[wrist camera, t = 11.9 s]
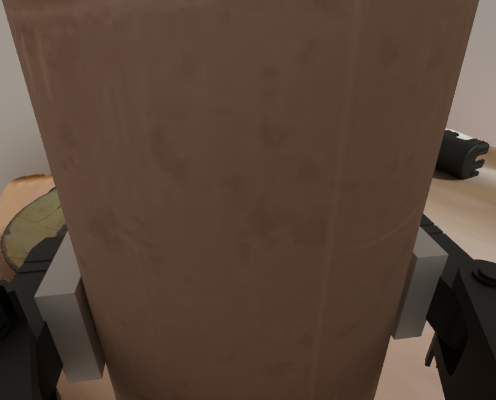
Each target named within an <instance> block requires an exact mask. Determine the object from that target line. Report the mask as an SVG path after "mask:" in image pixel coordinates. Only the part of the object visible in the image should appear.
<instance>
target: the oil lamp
mask: <svg viewBox="0 0 496 400" xmlns="http://www.w3.org/2000/svg"><path fill="white" fill-rule="evenodd" d="M67 231H68V229H67V225H66V222H65V218H64V215H63V211H62V208H61V204H60V201H59V197H58V194H57V190H56V187H54V188H52V189H51V190H50V191H49V192H48V193H47V194H45V195H43V196H41V197H39V198H37V199H36V200H34V201H33V202H31V203H30V204H29V205H27V206H26V207H24V208H23V209H22V210H21V211H20V212H19V213H17V214H16V215H15V217H14V218H13V219H12V220H11V221H10V223H9V224H8V226H7V227H6V229H5V231H4V234H3V236H2V239H1V249H2V252H3V254H4V257H5V260H6V261H7V263H8V265H9V266H10V267H11V268H12V269H13V271H15V272H16V273H17V271H18V270H19V268H20V266H21V265H22V264H24V260H25V258H26V257H27V255H28V254H29V252H30V250H31V249H32V248H33V247H34V246H36V245H37V244H38V243H39V242H41V241H42V240H43V239H44V238H46V237H57V236H65V235H66V233H67Z"/></svg>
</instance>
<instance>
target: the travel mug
mask: <svg viewBox="0 0 496 400" xmlns="http://www.w3.org/2000/svg"><path fill="white" fill-rule="evenodd" d="M2 1H3V4H4V8H5V12H6V15H7V18H8V22H9V26H10V29H11V33H12V36H13V40H14V43H15V47H16V50H17V54H18V57H19V61H20V64H21V68H22V71H23V75H24V78H25V82H26V85H27V89H28V92H29V96H30V99H31V102H32V106H33V110H34V113H35V117H36V120H37V124H38V127H39V131H40V134H41V138H42V141H43V145H44V148H45V151H46V155H47V159H48V162H49V166H50V169H51V173H52V176H53V180H54V183H55V187H56V190H57V194H58V197H59V201H60V204H61V208H62V211H63V215H64V218H65V222H66V225H67V229H68V232H69V236H70V239H71V243H72V246H73V250H74V253H75V257H76V260H77V264H78V267H79V271H80V274H81V278H82V281H83V285H84V288H85V292H86V295H87V299H88V302H89V306H90V309H91V313H92V316H93V320H94V323H95V327H96V330H97V334H98V337H99V341H100V344H101V347H102V351H103V354H104V358H105V361H106V365H107V368H108V372H109V375H110V379H111V382H112V386H113V389H114V393H115V396H116V400H374V397H375V393H376V390H377V386H378V382H379V378H380V375H381V371H382V367H383V363H384V359H385V356H386V352H387V348H388V344H389V340H390V337H391V333H392V329H393V325H394V321H395V318H396V314H397V310H398V306H399V302H400V299H401V295H402V291H403V287H404V283H405V280H406V276H407V272H408V268H409V264H410V261H411V257H412V253H413V249H414V245H415V242H416V238H417V234H418V230H419V226H420V223H421V219H422V215H423V211H424V208H425V204H426V200H427V196H428V192H429V189H430V185H431V181H432V177H433V173H434V170H435V166H436V162H437V158H438V154H439V151H440V147H441V143H442V139H443V135H444V132H445V128H446V124H447V120H448V116H449V113H450V108H451V105H452V101H453V97H454V94H455V90H456V86H457V82H458V78H459V75H460V71H461V67H462V63H463V59H464V56H465V52H466V48H467V44H468V40H469V36H470V33H471V29H472V25H473V21H474V18H475V14H476V10H477V6H478V2H479V0H2Z"/></svg>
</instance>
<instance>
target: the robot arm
mask: <svg viewBox="0 0 496 400" xmlns="http://www.w3.org/2000/svg"><path fill="white" fill-rule="evenodd" d="M426 320H427V321H428V322H429V324H430V325H431V326H432V328H433V329H434V331H435V333H434V336H433V339H432V342H431V344H430V347H429V350H428V353H427V355H426V358H425V366H429V367H430V364H431V362H432V359H433V357H434V356H435V360H436V364H437V365H436V368H438V372H439V376H440V380H441V384H442V388H443V392H444V396H445V400H496V263H493V262H489V261H485V260H473V259H472V258H471V257H470V256H469V255H468V254H467V253H466V252H465V251H463V250H462V249H461V248H460V247H459V246H458V245H457V244H456V243H455V242H454V241H452V240H451V239H450V238H449V237H448V236H447V235H446V234H443V231H442V230H440V229H439V228H438V227H437V226H434V223H433V222H432V221H431V220H430V219H428V218H427V217H426V216H425V215H424V214H423V215H422V219H421V223H420V226H419V230H418V234H417V238H416V242H415V245H414V249H413V253H412V257H411V261H410V264H409V268H408V272H407V276H406V280H405V283H404V287H403V291H402V295H401V299H400V302H399V306H398V310H397V314H396V318H395V321H394V325H393V329H392V333H391V335H392V337H393V338H394V340H395V339H403V338H411V337H418V336H421V334H422V331H423V328H424V325H425V323H426ZM105 362H106V361H105V358H104V354H103V351H102V347H101V344H100V341H99V337H98V334H97V330H96V327H95V323H94V320H93V316H92V313H91V309H90V306H89V302H88V299H87V295H86V292H85V288H84V285H83V281H82V278H81V274H80V271H79V267H78V264H77V260H76V257H75V253H74V250H73V246H72V243H71V239H70V236H69V232H68V231H67V233H66V235H65V236H57V237H46V238H44V239H43V240H42V241H41V242H39V243H38V244H37V245H36V246H34V247H33V248H32V249H31V250H30V252H29V254H28V255H27V257H26V258H25V260H24V264H22V265H21V266H20V268H19V270H18V271H17V275H15V276H14V278H13V279H12V281H11V283H9V282H7V281H5V280H0V400H61V397H60V394H59V392H58V390H57V388H56V385H57V382H58V379H59V376H60V373H61V370H62V368H63V371H64V373H65V376H66V378H67V381H68V383H70V382H77V381H85V380H92V379H100V378H102V375H103V371H104V366H105Z"/></svg>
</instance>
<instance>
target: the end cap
mask: <svg viewBox="0 0 496 400" xmlns="http://www.w3.org/2000/svg"><path fill="white" fill-rule="evenodd" d="M457 136H459V134H458V133H456V132H452V131H450V130H445V132H444V135H443V139H442V143H441V147H440V151H439V154H438V158H437V162H436V166H435V168H437V169H439V170H442V171H444V172H447V173H449V174H451V175H454V176H456V177H458V178H461V179H468V178H471V177H474V176H478V174H479V171H476V170H475V169H478V168H481V167H482V166H483V164H484V161H485V160H484V159H481V160H478V161H475V159H476V158H477V156H479V155H482V154H486V153H487V152H488V149H489V144H488V143H487V142H484V141H480V140H477V139H474V138H473V139H470V140H463V139H460V138H457Z"/></svg>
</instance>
